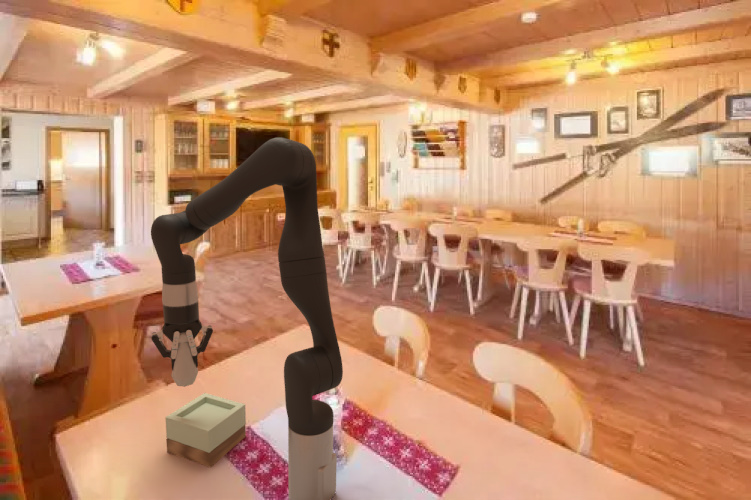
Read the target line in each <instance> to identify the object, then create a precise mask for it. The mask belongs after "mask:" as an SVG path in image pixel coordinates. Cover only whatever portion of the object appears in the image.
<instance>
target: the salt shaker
mask: <svg viewBox="0 0 751 500" xmlns="http://www.w3.org/2000/svg"><path fill="white" fill-rule="evenodd" d="M177 341H178V343H179V344H178V349H177V356H176V358H175V359H176V360H175V362H174V368H173V370H172V369H171V378H172V379H173V381H174V383H175V384H176V386H178V387H182V388H183V387H185V388H186V387H188V386H191V385H194V383H195V382H196V379H197V376H198V374H199V368H198V367H197V368H196V365H194V362H193V359H192V356H193V355H192V353H191V349H190V346H189V343H188V337H187V335H186V333H185V332H183V333H180V335H179V338H178V339H177Z"/></svg>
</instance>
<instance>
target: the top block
mask: <svg viewBox="0 0 751 500" xmlns="http://www.w3.org/2000/svg"><path fill="white" fill-rule="evenodd" d="M164 418H165V431H166V432H165V434H166V435H165V436H166V439H167V438H168V439H171V440H174V441H176V442H179V443H182V444H185V445H188V446H191V447H194V448H197V449H200V450H202V451H205V452H208V453H210V452H211V451H212V450H214V449H215V448H216V447H217V446H219V445H220V444H221V443H222V442H224V441H225V440H226V439H228V438H229V437H230V436H231V435H233V434H234V433H235V432H236V431H238V430H239V429H240V428H241V427H243V426H244V425H245V426H246V424H247V421H246V420H247V417H246V404H245V403H242V402H239V401H235V400H231V399H228V398H224V397H221V396H218V395H214V394H210V393H206V392H203V393H202V394H200V395H199V396H197V397H196V398H194V399H193V400H191V401H189V402H188V403H186V404H185V405H183V406H181V407H180V408H178V409H176V410H175V411H173V412H171V413H170V414H169V415H167V416H165V417H164Z"/></svg>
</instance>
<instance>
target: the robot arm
mask: <svg viewBox="0 0 751 500" xmlns="http://www.w3.org/2000/svg"><path fill="white" fill-rule="evenodd" d="M317 178H318V175H317V163H316V159H315V155H314V153H313V152H312V150H311V149H310V148H309V147H308V146H307V145H306V144H304V143H302V142H299V141H297V140H293V139H288V138H285V137H274V138H270V139H268V140H267V141H265V142H264V143H263V144H262V145H260V146H259V147H258V148H257V149H256V150H255V151H254V152H253V153H252V154H250V156H248V158H246V159H245V160H244V161H243V162H242V163H241V164H240V165H239V166H237V167H236V168H235V169H234V170H233V171H232V172H231V173H230V174H228V175H227V176H226V177H225V178H224V179H222V180H221V181H219V182H218V183H216V184H215V185H214V186H212V187H210V188H209V189H207V190H206V191H204V192H202V193H200V194H199V195H198V196H196V197H194V198H193V199H191V200H190V201H189V202H188V203H187V204H186V206H185V209H184V210H183V211H181V212H176V213H168V214H162V215H158V216H157V217H156V218H155V219H154V220H153V221H152V224H151V227H150V238H151V241H152V244H153V246H154V249H155V252H156V255H157V258H158V260H159V263H160V266H161V279H162V280H161V281H162V286H161V288H162V289H161V293H162V294H161V297H162V298H161V302H162V312H163V326H162V327H161V329H160V330H159V331H154V332H152V333H151V336H150V339H151V341H152V342H153V344H154V345H155V347H156V348H157V350H158V352H159V353H160V355H161V357H163V358H164V359H165V358H169V359H170V361H171V371H172V370H173V368H174V362H175V360H176V359H175V358H176V356H177V349H178V344H179V343H178V341H177V339H178V338H179V335H180V333H183V332H185V333H186V335H187V337H188V343H189V346H190V349H191V353H192V355H193V356H192V359H193V362H194V365H196V368H197V369H198V366H199V361H198V359H199V357H198V355H199V354H200V353H204V352H205V351H206V350H207V347H208V345H209V343H210V340H211V337H212V335H213V332H214V330H213V326H212V325H204V324H202V322H201V320H200V309H199V307H200V306H199V291H198V284H197V276H196V275H197V274H196V264H195V263H196V262H195V259H194V257H193V256H192V255H190V254H186V253H183V250H182V248H181V245H185V244H188V243H192V242H193V241H195V240H197V239H199V238H201V237H202V236H203V235H204V234H205V233H207V231H208V230H210V228H212V227H214V226H216V225H218V224H219V223H221V222H224V221H225V220H226V219H228V218H230V217H231V216H232V215H233V214H235V213H236V212H238V209H240V208H241V206H242V205H243V204H244V202H245V201H246V200H247V199H248V198H249V197H251V196H252V195H254V194H255V193H257V192H259V191H261V190H263V189H266V188H268V187H269V188H270V187H271V186H275V185H277V186H281V188H282V190H283V191H282V193H283V196H284V197H283V199H284V204H285V218H284V224H283V228H282V232H281V235H280V239H279V242H278V243H279V244H278V249H277V251H278V252H277V258H278V259H277V260H278V266H279V277H280V282H281V285H282V288H283V291H284V293H285V294H286V295H287V296H288V299H290V301H291V302H292V303H293V304H294V305H295V307H296V308H297V309H298V310H299V312H300V313H301V314H302V315H303V317H304V318H305V320H306V321H307V324H308V326H309V330H310V332H311V337H312V345H313V346H312V347H308V348H305V349H301V350H298V351H294V352H292V353H289V354H288V355H287V356H286V359H285V360H284V361H285V362H284V365H283V381H284V383H283V384H284V393H285V394H284V396H285V397H284V399H285V409H286V415H287V420H288V421H287V424H288V427H287V429H288V432H287V433H288V435H287V436H288V439H287V441H288V443H287V444H288V445H287V447H288V448H287V450H288V452H287V453H288V459H287V461H288V463H287V464H288V474H287V475H288V480H287V481H288V488H287V489H288V500H330V499H331V498H332V496H333V495H334V494H335V495H336V493H337V461H338V460H337V458H338V457H337V453H335V452H334V411H333V408H332V406H331V405H330V404H329V403H327V402H325V401H322V400H320V399H319V400H318V399H313V397H314V396H317V395H320V394H322V393H323V394H324V393H325V392H328V391H330V390H333V389H335V388H337V387H339V385H340V384H341V382H342V380H343V373H344V371H343V370H344V369H343V360H342V356H341V349H340V346H339V341H338V338H337V337H338V336H337V331H336V327H335V324H334V319H333V312H332V307H331V301H330V292H329V284H328V276H327V275H328V274H327V266H326V257H325V252H324V246H323V238H322V231H321V222H320V221H321V220H320V216H319V207H318V184H317V183H318V181H317ZM200 332H201V333H202V335H203V336H202V339H201V340H200V343H199V345H198V346H197V345H196V342H195V339H196V338H197V336H198V334H199V333H200ZM164 336H165V337H167V339H168V340H169V341H170V342H171V346H170V347H171V348H170V349H168V348H167V347H166V345H165V344H164V342H163V340H164ZM335 492H336V493H335ZM335 495H334V496H335ZM334 496H333V497H334ZM332 499H333V498H332ZM332 499H331V500H332Z"/></svg>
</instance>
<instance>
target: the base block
mask: <svg viewBox="0 0 751 500" xmlns="http://www.w3.org/2000/svg"><path fill="white" fill-rule="evenodd" d="M246 432H247V430H246V424H245V425H244V426H243V427H241V428H240V429H239V430H238V431H236V432H235V433H234V434H233V435H231V436H230V437H229V438H228V439H226V440H225V441H224V442H222V443H221V444H220V445H219V446H217V447H216V448H215V449H214V450H212V451H211V452H210V453H208V452H205V451H202V450H200V449H197V448H194V447H191V446H188V445H185V444H182V443H179V442H176V441H174V440H171V439H168V438H167V437H166V442H165V443H166V453H168V454H171V455H174V456H176V457H180V458H182V459H185V460H188V461H191V462H193V463H197V464H198V465H199V464H200V465H203V466H206V467H208V468H212V467H213V466H214V464H216V463H217V462H218V461H219V460H220V459H222V458H223V457H224V456H225V455H226V454H227V453H229V452H230V451H231V450H232V449H234V447H236V446H237V445H238V444H239V443H240V442H241V441H242V440H244V439H245V438H246V437H247V434H246Z"/></svg>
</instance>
